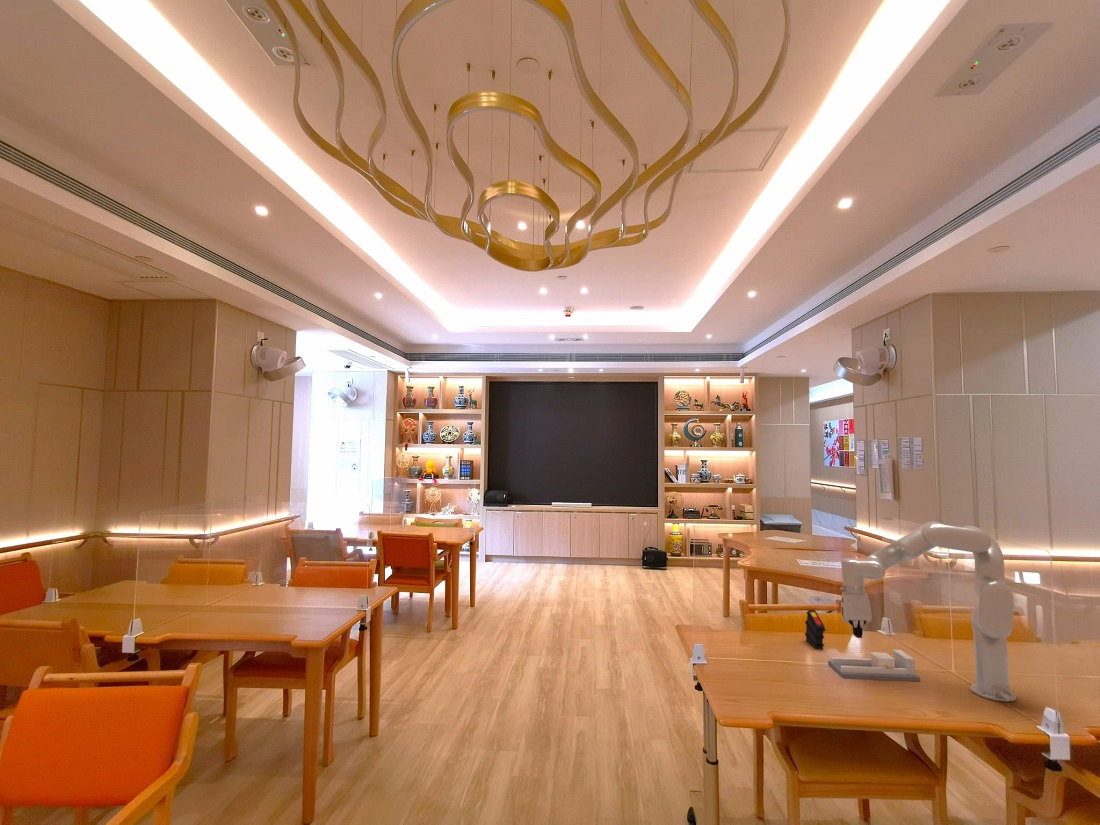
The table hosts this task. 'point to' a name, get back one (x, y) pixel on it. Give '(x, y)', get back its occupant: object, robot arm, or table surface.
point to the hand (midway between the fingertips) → (858, 636)
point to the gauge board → (876, 668)
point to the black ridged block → (814, 630)
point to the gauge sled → (881, 660)
